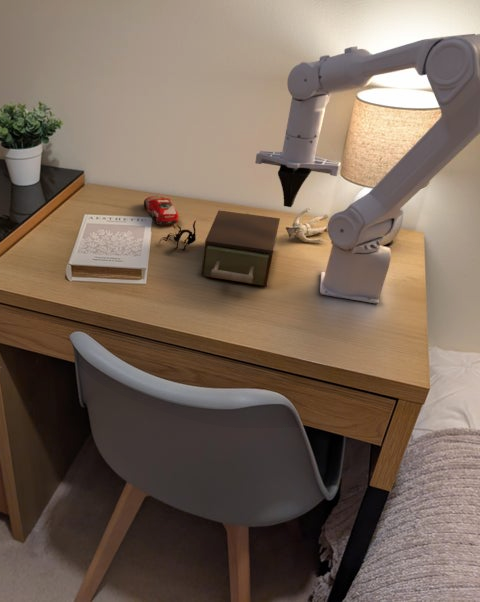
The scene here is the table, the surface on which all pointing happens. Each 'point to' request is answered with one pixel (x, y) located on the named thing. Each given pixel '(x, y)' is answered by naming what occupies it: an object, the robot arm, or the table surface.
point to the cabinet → (243, 235)
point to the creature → (190, 238)
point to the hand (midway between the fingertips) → (288, 204)
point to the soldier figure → (306, 228)
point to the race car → (161, 210)
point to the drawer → (235, 264)
